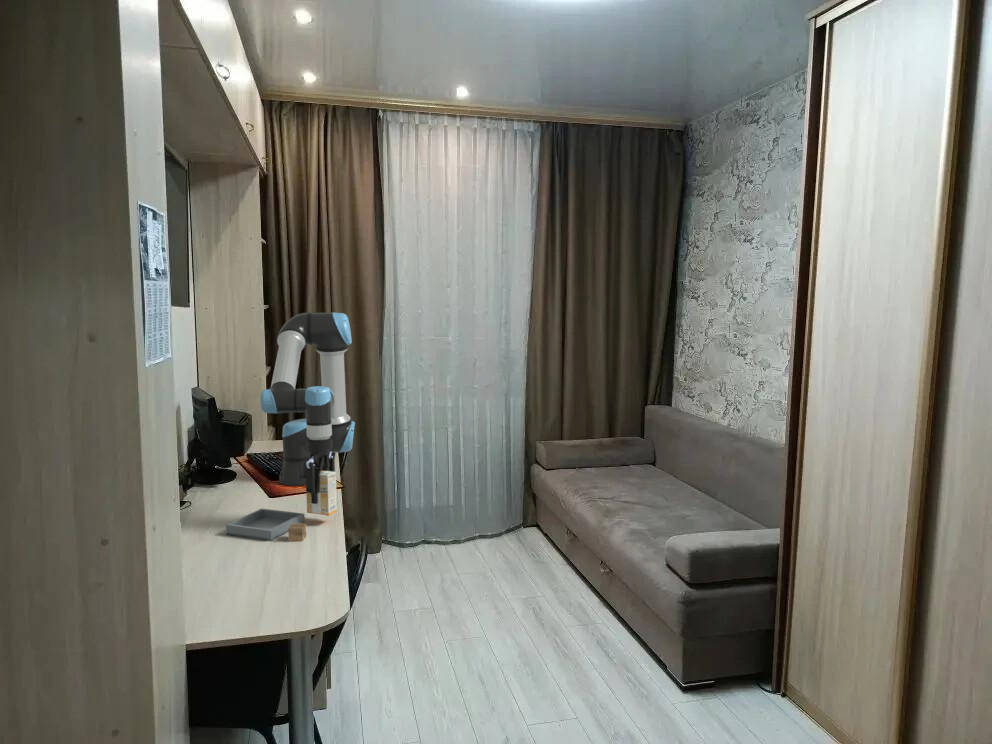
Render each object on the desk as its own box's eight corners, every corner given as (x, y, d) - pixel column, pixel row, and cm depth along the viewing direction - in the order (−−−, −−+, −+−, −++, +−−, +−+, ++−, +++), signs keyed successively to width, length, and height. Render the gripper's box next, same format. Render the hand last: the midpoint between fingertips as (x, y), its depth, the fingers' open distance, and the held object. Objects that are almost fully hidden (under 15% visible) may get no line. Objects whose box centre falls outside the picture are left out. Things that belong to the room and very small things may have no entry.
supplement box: (306, 513, 204) (304, 472, 202) (315, 508, 208) (313, 468, 207) (328, 516, 201) (327, 475, 199) (337, 511, 206) (336, 470, 204)
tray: (261, 517, 209) (261, 508, 209) (304, 523, 204) (304, 513, 204) (226, 534, 194) (225, 524, 194) (271, 541, 189) (271, 531, 189)
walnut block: (292, 536, 193) (292, 523, 193) (306, 536, 193) (305, 523, 193) (288, 541, 189) (288, 528, 189) (302, 541, 189) (302, 528, 189)
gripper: (325, 429, 211) (327, 499, 214) (291, 442, 194) (294, 518, 198) (345, 431, 209) (347, 502, 212) (312, 444, 192) (315, 521, 195)
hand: (321, 509), depth 205 cm, fingers closed on supplement box, 5 cm apart
